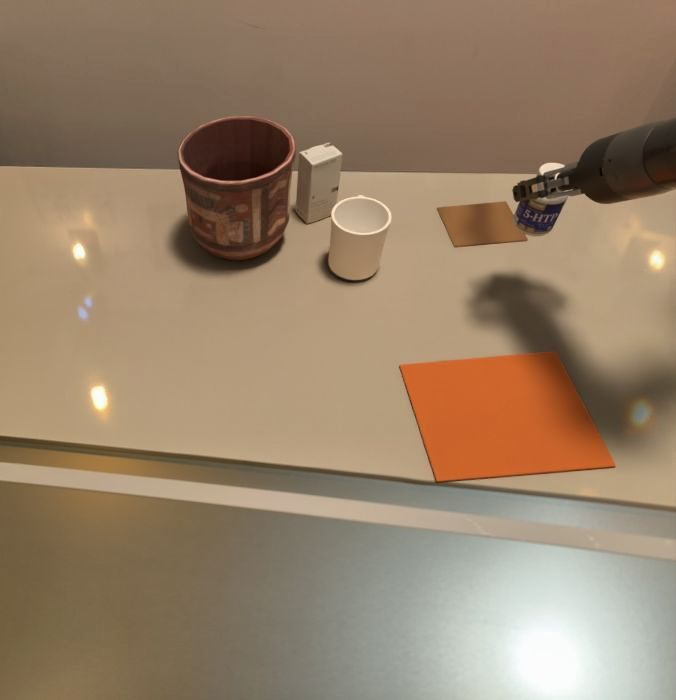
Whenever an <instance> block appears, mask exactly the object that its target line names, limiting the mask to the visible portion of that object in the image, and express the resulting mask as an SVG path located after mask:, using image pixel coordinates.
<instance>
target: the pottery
mask: <svg viewBox="0 0 676 700" xmlns="http://www.w3.org/2000/svg"><path fill="white" fill-rule="evenodd" d="M296 154H297V146H296V139H295V137H294V136H293V135H292V133H291V132H290V131H289V130H288V129H287V128H286V126H283V125H281V124H279V123H277V122H275V121H272V120H271V119H266V118H260V117H258V116H257V117H256V116H252V115H251V116H250V115H249V116H248V115H247V116H228V117H223V118H218V119H214V120H211V121H209V122H206V123H204V124H201V125H199V126H198V127H196V128H195V129H193V130H191V131H190V132H189V133H188V134H187V135H186V136H185V137H184V139H182V141H181V142H180V144H179V146H178V149H177V160H178V165H179V172H180V176H181V179H182V184H183V190H184V195H185V203H186V204H185V205H186V213H187V219H188V224H189V229H190V231H191V234H192V235H193V237H194V238H195V240H196V241H197V243H198V244H199V245H200V246H201V248H202V249H204V250H205V251H207V252H208V253H209V254H212V255H213V256H215V257H218V258H221V259H224V260H227V261H245V260H251V259H253V258H254V259H255V258H256V257H258V256H260V255H263V254H265V253H267V252H268V251H269V250H270V249H271V248H273V247H274V246H275V245H276V244H277V243H278V242H279V241H280V240H281V239H282V237H283V235H284V233H285V231H286V229H287V227H288V225H289V221H290V215H291V186H292V178H293V171H294V167H295V162H296Z"/></svg>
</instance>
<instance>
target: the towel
mask: <svg viewBox="0 0 676 700" xmlns="http://www.w3.org/2000/svg"><path fill="white" fill-rule="evenodd" d="M399 366H400V367H399V370H400V373H401V377H402V379H403V383H404V382H405V383H404V386H405V385H406V386H405V389H406V388H407V389H406V392H407V391H408V392H407V395H408V394H409V395H408V398H409V397H410V398H409V401H410V400H411V401H410V404H411V403H412V405H411V407H413V408H412V411H413V410H414V411H413V414H414V413H415V414H414V417H415V416H416V417H415V420H416V423H417V422H418V423H417V426H419V427H418V429H420V430H419V433H420V432H421V433H420V436H421V439H422V442H423V445H424V448H425V452H426V456H427V458H428V461H429V465H430V467H431V470H432V469H433V471H432V473H433V472H434V474H433V476H434V475H435V477H434V479H436V480H435V482H436V483H445V482H446V481H447V482H458V481H457V480H459V481H468V480H469V479H471V480H481V479H480V478H482V479H492V478H505V477H515V476H517V477H518V476H529V475H540V474H550V473H551V474H552V473H561V472H572V471H573V472H574V471H575V472H576V471H585V470H586V471H587V470H598V469H611V468H615V467H617V465H616V463H615V461H614V459H613V457H612V456H611V453H610V451H609V450H608V448H607V446H606V444H605V442H604V441H603V438H602V436H601V434H600V432H599V430H598V429H597V427H596V425H595V423H594V421H593V419H592V418H591V415H590V414H589V412H588V410H587V408H586V406H585V404H584V402H583V401H582V399H581V397H580V395H579V393H578V391H577V390H576V387H575V386H574V383H573V382H572V379H571V378H570V376H569V374H568V372H567V370H566V369H565V367H564V365H563V363H562V361H561V359H560V357H559V356H558V352H557V351H554V350H552V351H542V352H541V351H540V352H529V353H519V354H508V355H497V356H496V355H495V356H485V357H475V358H474V357H473V358H462V359H451V360H450V359H449V360H440V361H427V362H418V363H417V362H416V363H406V364H405V363H404V364H399Z"/></svg>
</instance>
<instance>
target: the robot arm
mask: <svg viewBox="0 0 676 700" xmlns="http://www.w3.org/2000/svg"><path fill="white" fill-rule="evenodd" d="M564 165H565V166H564V167H563V168H559V169H555V170H551V171H548V172H545V173H543V175H538V176H537V177H536V176H534V177H532V178H529V179H526V180H524V179H523V180H520V181H519V182H517V184H516V185H514V186H513V187H512V189H511V190H512V191H511V192H512V199H513V200H514V201H515V203H519V202H528V200H531V199H533V200H537V198H540V197H541V198H545V197H546V198H547V199H554V198H558V197H562V196H567V195H568V197H576V196H580V195H585V196H586V197H587V198H588V199H589V200H591V201H593V202H594V203H597V204H601V205H611V204H616V203H622V202H629V201H633V200H638V199H644V198H649V197H650V198H651V197H654V196H659V195H664V194H667V193H668V192H671V191H674V190H676V116H673V117H670V118H666V119H663V120H657V121H651V122H648V123H644V124H641V125H638V126H635V127H632V128H629V129H626V130H624V131H619V132H616V133H613V134H611V135H608V136H605V137H602V138H599V139H596V140H595V141H593V142H592V143H591V144H589V145H588V146H586V148H585V149H584V151H583V152H582V153H581V154H580V157H579V160H578V161H572V162H570V163H566V164H564ZM558 173H559V174H558ZM556 174H558V176H557V178H556V179H555V175H556ZM556 187H558V189H559V190H560V191H566V192H561V193H559V192H557V190H556ZM567 190H569V191H567Z"/></svg>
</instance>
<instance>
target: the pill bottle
mask: <svg viewBox="0 0 676 700" xmlns="http://www.w3.org/2000/svg"><path fill="white" fill-rule="evenodd" d="M565 165H566V164H562V163H558V162H546V163H544V164H542V165H541V166H540V167H539V169H538V171H537V173H536V176H535V177H537V176H538V175H543V173H545V172H548V171H551V170H555V169H559V168H563V167H564V166H565ZM558 174H559V173H558ZM558 174H556V175H555V179H556V178H557V176H558ZM556 190H557V192H559V193H561V192H566V191H560V190H559V189H558V187H556ZM567 191H570V190H567ZM568 198H569V196H568V195H567V196H562V197H558V198H554V199H547V198H546V197H545V198H541V197H540V198H537V200H533V199H531V200H528V202H518V205H517V207H516V209H515V211H514V213H513V215H514V216H513V220H512V222H513V225H514V227H515V228H516V229H517V230H518V231H519V232H521V233H523V234H525V235H526V236H530V237H543V236H546V235H549V233H551V232H552V230H553V228H554V226H555V225H556V223H557V221H558V219H559V217H560V214H561V212H562V210H563V208H564V206H565V204H566V202H567V200H568Z"/></svg>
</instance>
